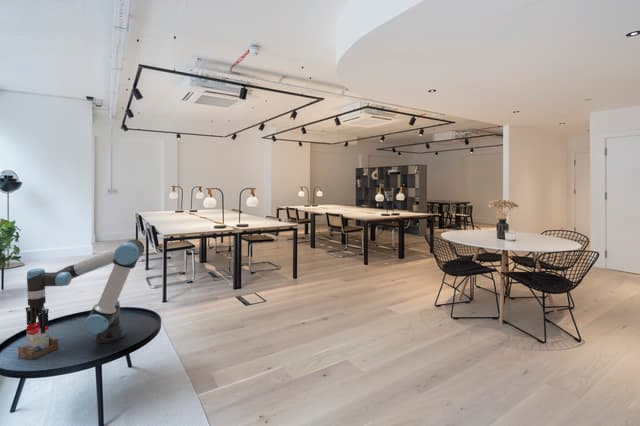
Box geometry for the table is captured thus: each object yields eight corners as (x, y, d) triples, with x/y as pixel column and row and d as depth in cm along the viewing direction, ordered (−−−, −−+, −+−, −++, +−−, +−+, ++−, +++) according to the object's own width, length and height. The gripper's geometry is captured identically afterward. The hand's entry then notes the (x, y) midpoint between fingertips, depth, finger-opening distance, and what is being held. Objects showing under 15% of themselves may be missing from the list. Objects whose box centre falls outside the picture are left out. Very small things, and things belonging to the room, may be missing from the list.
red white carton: (33, 353, 182) (32, 327, 181) (26, 352, 183) (25, 326, 182) (49, 346, 190) (48, 321, 189) (42, 345, 192) (41, 320, 190)
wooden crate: (58, 348, 192) (57, 338, 192) (33, 360, 179) (32, 349, 179) (44, 346, 195) (43, 336, 194) (18, 357, 182) (18, 346, 181)
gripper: (56, 296, 186) (57, 337, 188) (31, 293, 190) (32, 333, 192) (42, 301, 179) (43, 343, 181) (16, 297, 183) (18, 338, 185)
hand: (38, 338), depth 186 cm, fingers closed on red white carton, 5 cm apart
